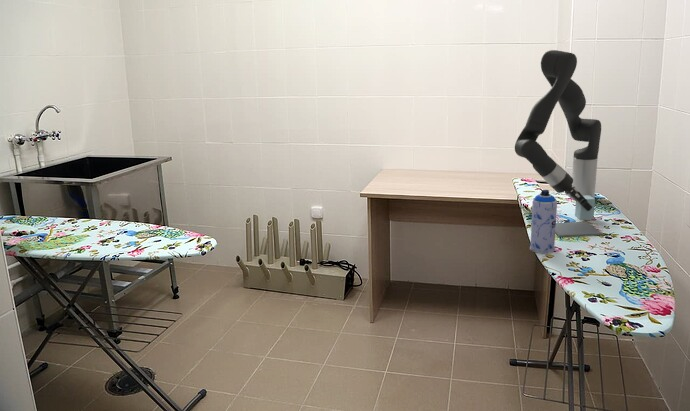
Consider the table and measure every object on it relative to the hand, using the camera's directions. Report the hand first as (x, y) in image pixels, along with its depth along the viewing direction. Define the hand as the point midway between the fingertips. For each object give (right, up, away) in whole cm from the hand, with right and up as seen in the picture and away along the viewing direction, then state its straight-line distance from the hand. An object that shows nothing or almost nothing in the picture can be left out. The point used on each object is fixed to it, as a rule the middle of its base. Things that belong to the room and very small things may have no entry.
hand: (587, 206), depth 215 cm
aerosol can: (-26, -14, -27) cm, 40 cm away
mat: (-10, -8, -11) cm, 17 cm away
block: (-1, -4, +1) cm, 4 cm away
